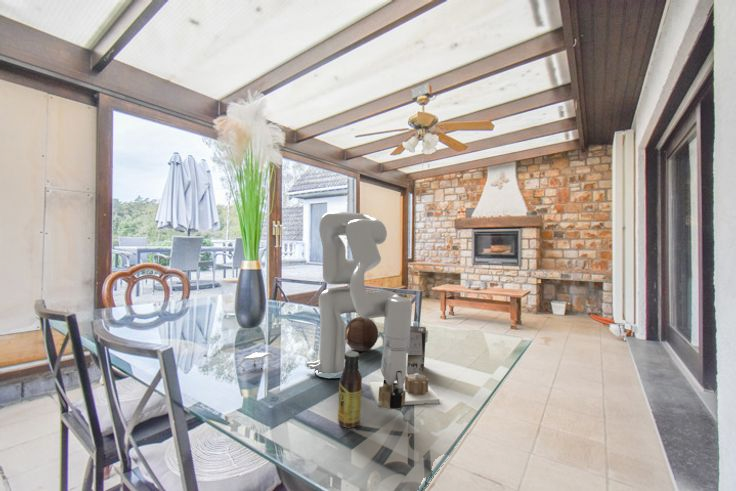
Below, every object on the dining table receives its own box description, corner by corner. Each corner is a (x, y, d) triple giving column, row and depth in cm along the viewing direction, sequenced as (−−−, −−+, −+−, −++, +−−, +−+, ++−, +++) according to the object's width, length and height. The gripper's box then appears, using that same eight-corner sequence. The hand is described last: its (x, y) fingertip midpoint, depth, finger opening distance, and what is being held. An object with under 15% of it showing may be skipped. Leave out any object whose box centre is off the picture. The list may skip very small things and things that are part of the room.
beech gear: (381, 410, 95) (382, 395, 95) (376, 397, 102) (377, 382, 102) (407, 409, 96) (408, 394, 96) (400, 396, 104) (401, 382, 103)
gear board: (377, 406, 105) (378, 385, 105) (369, 385, 119) (369, 366, 118) (439, 402, 109) (440, 382, 108) (423, 383, 122) (424, 364, 122)
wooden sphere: (376, 345, 161) (377, 313, 161) (378, 356, 146) (380, 322, 146) (344, 344, 161) (345, 312, 160) (343, 356, 146) (344, 321, 145)
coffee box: (423, 375, 129) (425, 333, 129) (406, 373, 131) (408, 331, 130) (424, 366, 138) (426, 326, 138) (408, 364, 140) (410, 325, 139)
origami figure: (261, 360, 137) (261, 348, 137) (274, 366, 132) (274, 353, 132) (233, 369, 128) (234, 356, 128) (247, 376, 123) (247, 362, 123)
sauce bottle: (337, 416, 98) (340, 348, 97) (359, 416, 99) (362, 348, 98) (337, 430, 92) (340, 357, 91) (360, 429, 92) (363, 357, 91)
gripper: (376, 330, 106) (372, 385, 107) (391, 352, 89) (386, 418, 90) (400, 330, 107) (396, 385, 109) (418, 352, 90) (413, 416, 92)
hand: (391, 399), depth 99 cm, fingers closed on beech gear, 7 cm apart
